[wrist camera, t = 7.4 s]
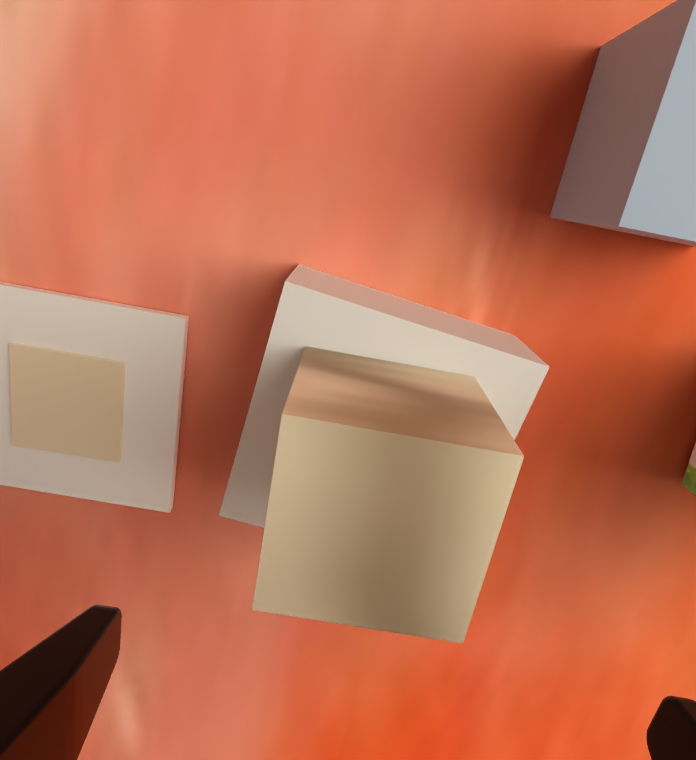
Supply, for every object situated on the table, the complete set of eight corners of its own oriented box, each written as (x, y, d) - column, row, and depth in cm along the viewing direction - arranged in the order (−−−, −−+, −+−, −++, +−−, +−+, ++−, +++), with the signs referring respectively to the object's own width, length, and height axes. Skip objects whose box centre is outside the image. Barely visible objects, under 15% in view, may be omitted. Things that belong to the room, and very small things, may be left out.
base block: (243, 457, 21) (218, 515, 17) (299, 262, 19) (284, 280, 15) (432, 512, 22) (447, 579, 18) (512, 332, 19) (549, 366, 15)
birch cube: (281, 494, 17) (251, 610, 12) (305, 346, 15) (282, 413, 11) (434, 520, 17) (462, 643, 13) (474, 376, 16) (523, 456, 11)
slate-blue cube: (548, 217, 18) (618, 225, 13) (599, 47, 16) (701, -14, 11) (691, 246, 18) (812, 264, 13) (757, 81, 16) (919, 35, 12)
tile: (-28, 473, 21) (-39, 481, 21) (-40, 274, 19) (-53, 276, 18) (172, 507, 22) (167, 515, 21) (189, 315, 19) (183, 319, 18)
